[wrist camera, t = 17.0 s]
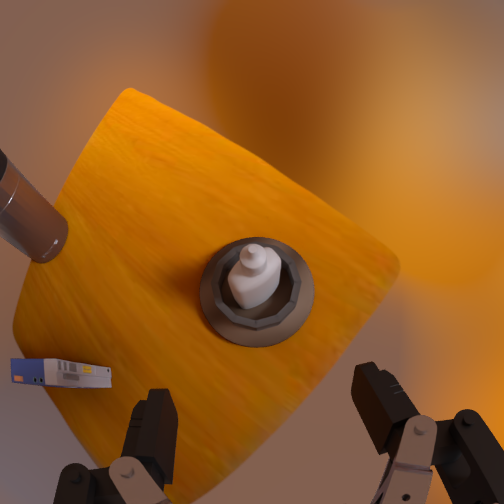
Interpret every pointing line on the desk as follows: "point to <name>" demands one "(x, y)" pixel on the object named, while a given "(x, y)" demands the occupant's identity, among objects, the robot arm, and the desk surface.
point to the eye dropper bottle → (254, 275)
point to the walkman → (59, 373)
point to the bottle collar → (266, 314)
